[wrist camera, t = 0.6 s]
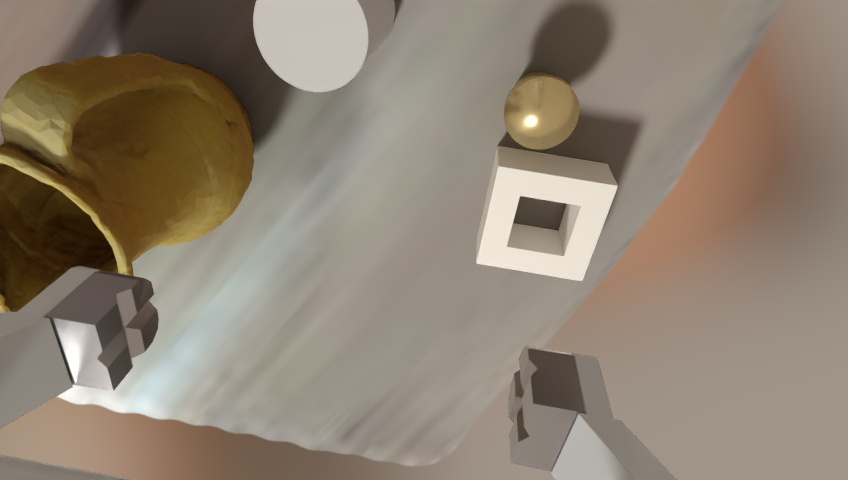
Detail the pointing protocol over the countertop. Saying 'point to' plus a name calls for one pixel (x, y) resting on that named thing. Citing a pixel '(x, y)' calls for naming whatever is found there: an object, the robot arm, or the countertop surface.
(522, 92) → the brass dome knob
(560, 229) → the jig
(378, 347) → the countertop surface
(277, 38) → the white cylinder
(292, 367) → the countertop surface
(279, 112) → the countertop surface
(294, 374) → the countertop surface
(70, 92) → the pitcher
